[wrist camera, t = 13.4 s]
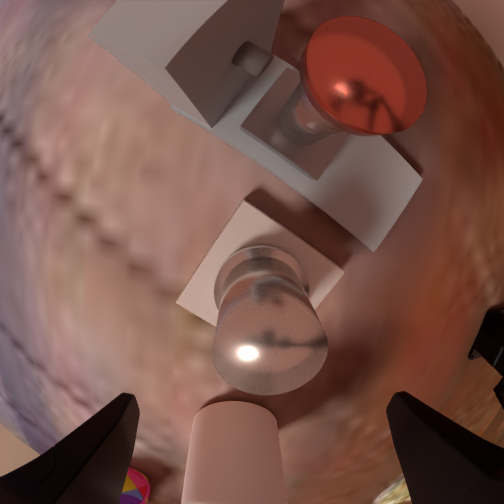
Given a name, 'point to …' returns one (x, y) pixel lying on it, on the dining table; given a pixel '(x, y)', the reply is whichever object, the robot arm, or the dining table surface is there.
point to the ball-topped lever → (339, 94)
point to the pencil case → (135, 488)
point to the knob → (266, 322)
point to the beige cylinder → (234, 456)
